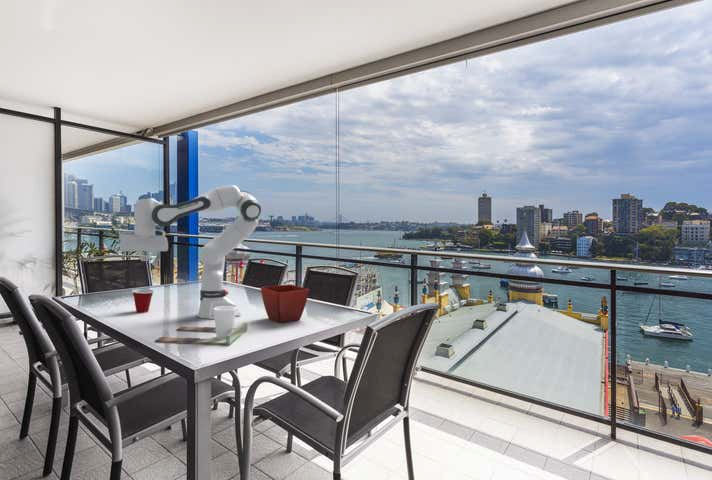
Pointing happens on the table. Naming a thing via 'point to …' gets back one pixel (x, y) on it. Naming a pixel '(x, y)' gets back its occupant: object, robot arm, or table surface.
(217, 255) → the robot arm
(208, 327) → the trap pads
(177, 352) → the table surface
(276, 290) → the plant pot
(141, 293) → the plastic cup
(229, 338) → the runway box
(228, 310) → the foam cup
